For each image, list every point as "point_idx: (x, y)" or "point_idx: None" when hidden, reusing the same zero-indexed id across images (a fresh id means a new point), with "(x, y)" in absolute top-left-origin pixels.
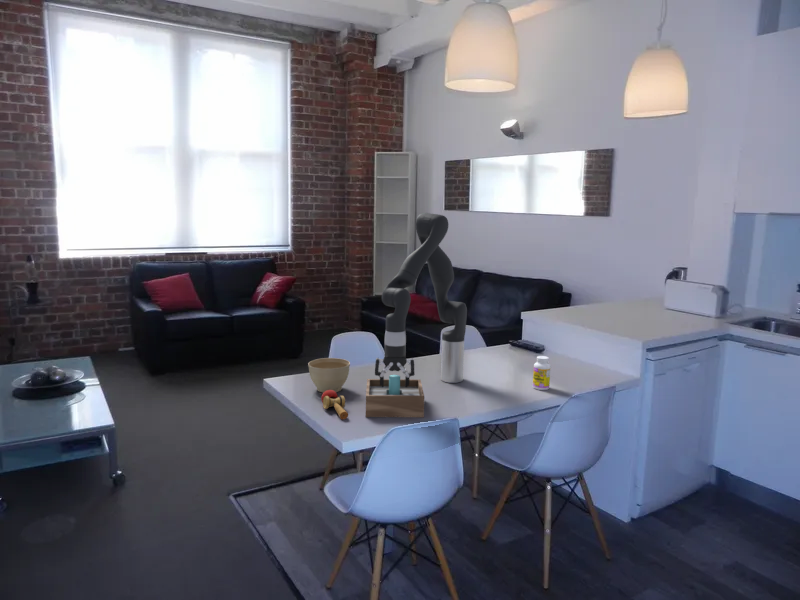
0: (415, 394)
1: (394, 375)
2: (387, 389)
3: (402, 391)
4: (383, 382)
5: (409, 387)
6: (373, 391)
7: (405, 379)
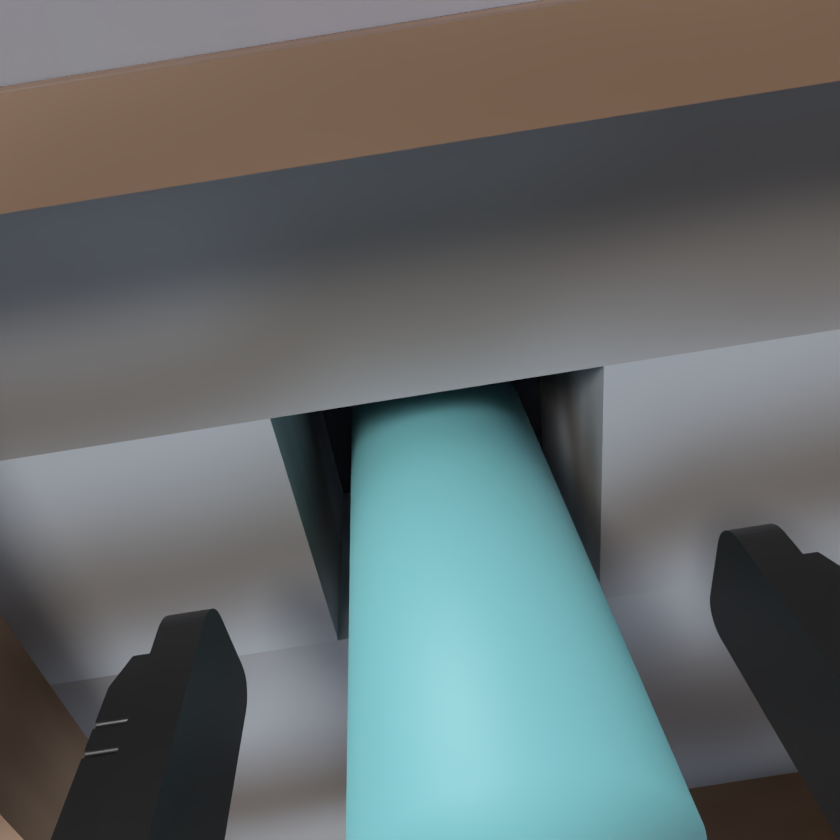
0: (828, 545)
1: (517, 832)
2: (286, 390)
3: (614, 449)
4: (227, 797)
5: (821, 135)
6: (45, 553)
7: (815, 760)
